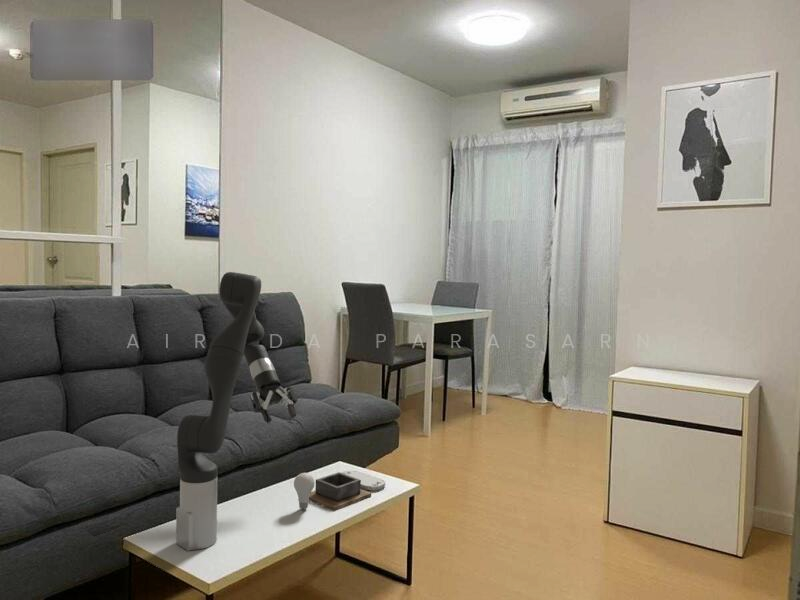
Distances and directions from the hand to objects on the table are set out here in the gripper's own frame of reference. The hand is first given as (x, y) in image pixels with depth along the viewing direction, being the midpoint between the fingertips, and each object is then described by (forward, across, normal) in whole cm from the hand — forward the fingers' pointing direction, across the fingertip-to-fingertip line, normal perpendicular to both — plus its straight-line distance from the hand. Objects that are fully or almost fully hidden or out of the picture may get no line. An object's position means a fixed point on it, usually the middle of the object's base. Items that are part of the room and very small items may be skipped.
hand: (282, 419), depth 189 cm
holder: (+26, +14, +10) cm, 31 cm away
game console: (+23, +28, +14) cm, 38 cm away
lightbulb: (+27, 0, +8) cm, 28 cm away
